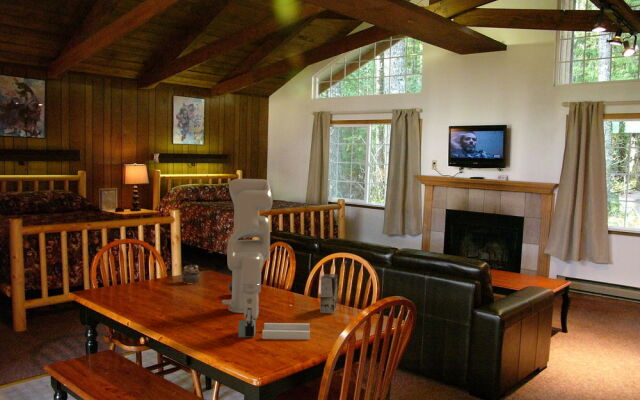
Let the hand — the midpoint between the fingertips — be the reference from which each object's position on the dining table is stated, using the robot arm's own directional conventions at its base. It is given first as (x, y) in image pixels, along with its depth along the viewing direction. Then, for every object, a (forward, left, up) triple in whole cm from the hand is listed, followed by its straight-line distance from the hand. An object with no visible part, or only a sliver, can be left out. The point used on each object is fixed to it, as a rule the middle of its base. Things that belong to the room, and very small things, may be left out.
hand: (250, 332), depth 210 cm
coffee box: (+32, +35, -1) cm, 47 cm away
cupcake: (-41, +87, -1) cm, 96 cm away
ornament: (-12, +60, -1) cm, 61 cm away
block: (-1, 0, -1) cm, 2 cm away
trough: (+14, 0, -1) cm, 14 cm away
